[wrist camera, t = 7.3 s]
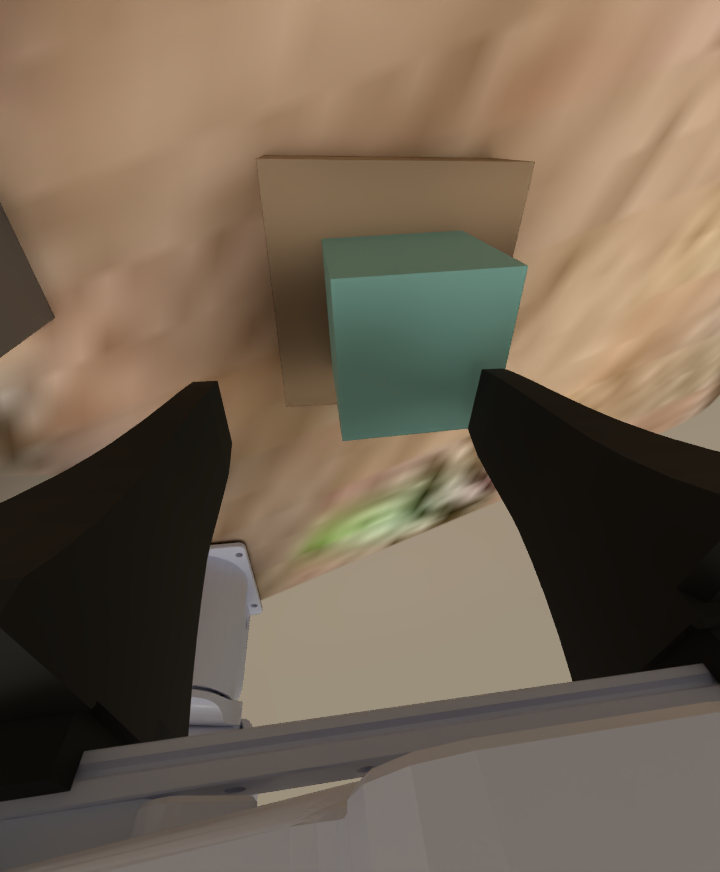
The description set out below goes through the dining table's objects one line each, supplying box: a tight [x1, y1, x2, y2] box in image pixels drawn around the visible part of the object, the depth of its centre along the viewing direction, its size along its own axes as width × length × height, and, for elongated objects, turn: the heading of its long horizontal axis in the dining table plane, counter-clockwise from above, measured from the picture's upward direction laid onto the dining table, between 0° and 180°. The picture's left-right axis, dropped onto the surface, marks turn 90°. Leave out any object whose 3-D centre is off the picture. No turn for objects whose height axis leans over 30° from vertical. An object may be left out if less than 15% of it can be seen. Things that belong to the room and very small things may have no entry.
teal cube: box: [322, 231, 528, 441], centre depth 13 cm, size 5×5×5 cm
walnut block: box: [256, 155, 535, 407], centre depth 16 cm, size 9×9×4 cm
